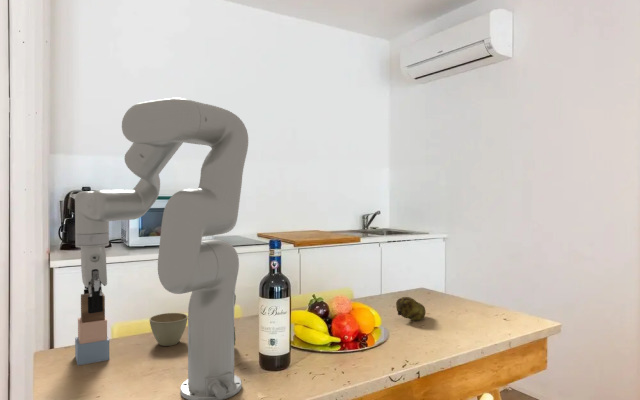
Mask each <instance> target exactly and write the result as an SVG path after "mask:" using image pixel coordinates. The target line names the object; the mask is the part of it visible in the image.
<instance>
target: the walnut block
mask: <svg viewBox="0 0 640 400" xmlns="http://www.w3.org/2000/svg"><path fill="white" fill-rule="evenodd" d="M102 295H103V311H102V312H97V313H88V297H89V294H84V293H80V318H81V320H82V323H84V322H91V321H99V320H105V317H106V310H105V309H106V301H105V300H106V295H105V294H104V292H103V291H102Z"/></svg>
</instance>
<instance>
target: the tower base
mask: <svg viewBox="0 0 640 400" xmlns="http://www.w3.org/2000/svg"><path fill="white" fill-rule="evenodd" d="M74 339H75V341H74V348H75V349H74V351H75V353H74V355H75V356H74V357H75V360H76V364H77V366H82V365H88V364H94V363H98V362H105V361H109V360H110V339H109V337H108V336H107V340H104V341H97V342H91V343H85V344H80V343H79V339H78V336H75V337H74Z"/></svg>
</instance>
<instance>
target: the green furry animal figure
mask: <svg viewBox="0 0 640 400" xmlns="http://www.w3.org/2000/svg"><path fill="white" fill-rule="evenodd" d="M395 307H396V312H397V315H398V316H401V317H402V318H404V319H408V320H411V321H415V322H416V321H417V320H418V321H420V320H421V321H422V320H423V319H424V318H425V316H426V307H425V306H424V305H423V304H422V303H420V302H417V301H416V300H415V298H412V297H410V296H402V297H400V298H398V299H397V300H396V302H395Z"/></svg>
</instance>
